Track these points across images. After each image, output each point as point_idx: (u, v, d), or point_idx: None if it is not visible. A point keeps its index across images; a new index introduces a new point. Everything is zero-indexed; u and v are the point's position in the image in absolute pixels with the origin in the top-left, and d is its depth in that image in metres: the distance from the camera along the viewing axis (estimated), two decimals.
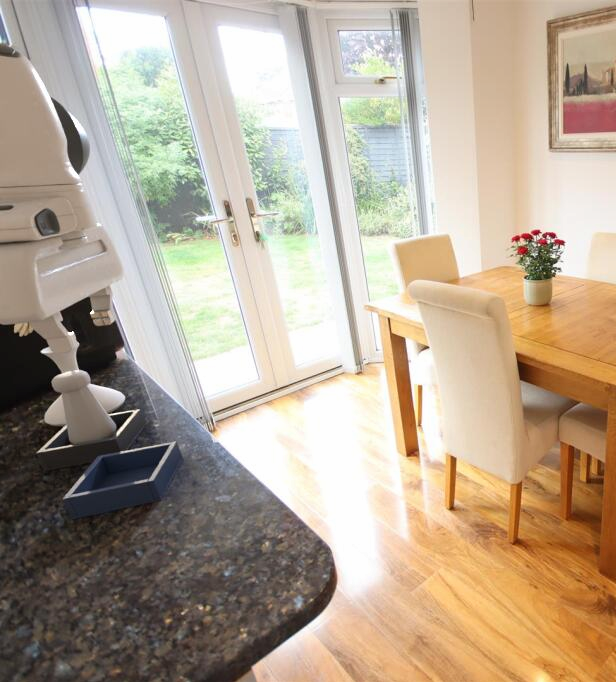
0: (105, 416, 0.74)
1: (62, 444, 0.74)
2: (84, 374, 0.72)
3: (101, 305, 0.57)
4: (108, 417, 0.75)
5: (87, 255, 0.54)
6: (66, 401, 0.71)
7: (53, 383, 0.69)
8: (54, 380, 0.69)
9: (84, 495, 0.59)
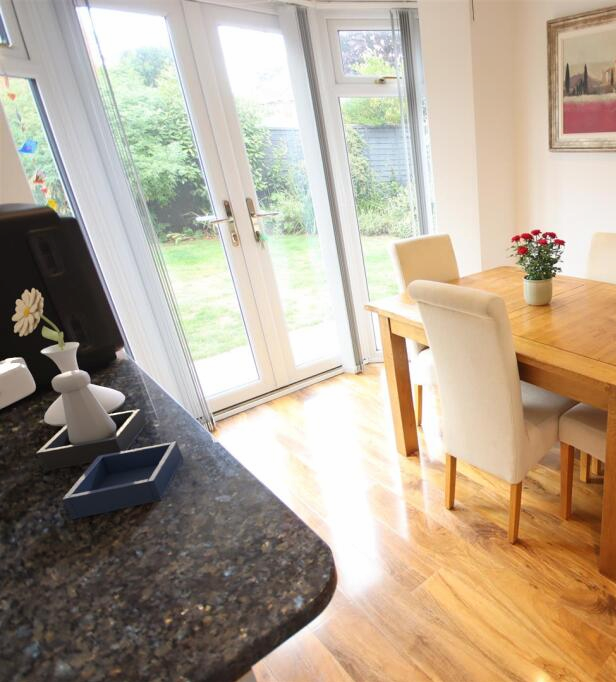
0: (105, 416, 0.74)
1: (62, 444, 0.74)
2: (84, 374, 0.72)
3: None
4: (108, 417, 0.75)
5: None
6: (66, 401, 0.71)
7: (53, 383, 0.69)
8: (54, 380, 0.69)
9: (84, 495, 0.59)
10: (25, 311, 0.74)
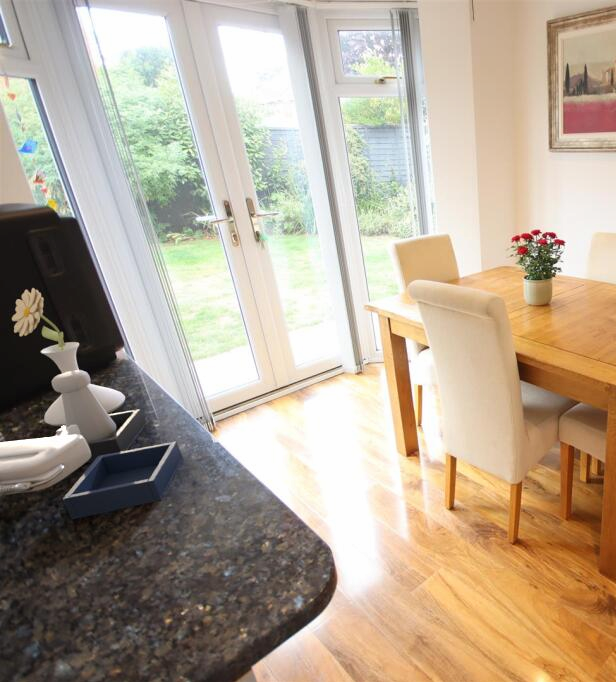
0: (105, 416, 0.74)
1: None
2: (84, 374, 0.72)
3: None
4: (108, 417, 0.75)
5: None
6: (66, 401, 0.71)
7: (53, 383, 0.69)
8: (54, 380, 0.69)
9: (84, 495, 0.59)
10: (25, 311, 0.74)
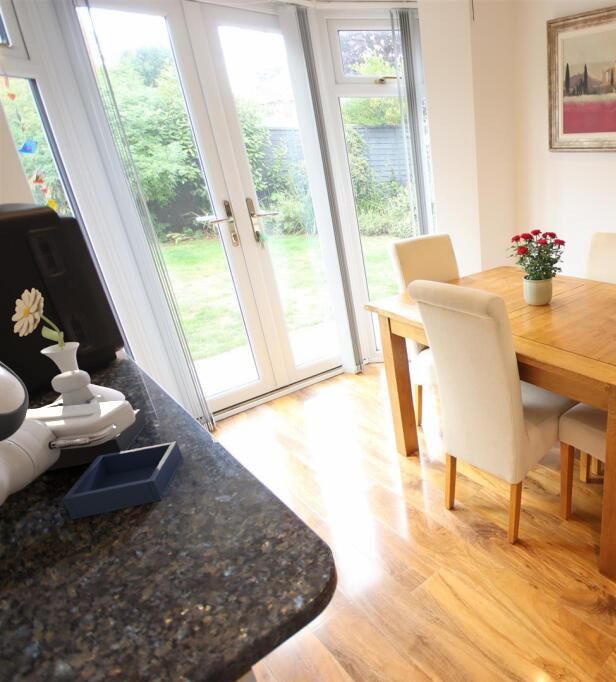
0: None
1: None
2: (84, 374, 0.72)
3: None
4: None
5: None
6: (66, 401, 0.71)
7: (53, 383, 0.69)
8: (54, 380, 0.69)
9: (84, 495, 0.59)
10: (25, 311, 0.74)
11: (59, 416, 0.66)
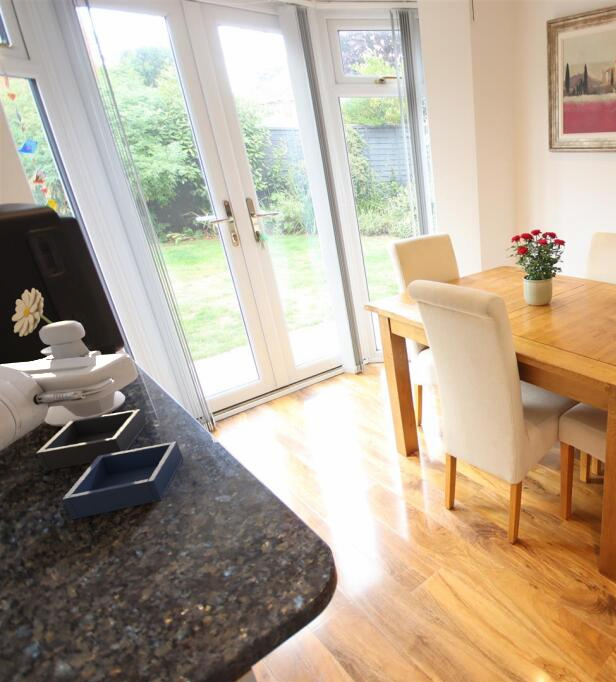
0: None
1: (62, 444, 0.74)
2: (77, 324, 0.61)
3: None
4: None
5: None
6: (56, 356, 0.61)
7: (41, 333, 0.59)
8: (42, 330, 0.59)
9: (84, 495, 0.59)
10: (25, 311, 0.74)
11: (47, 369, 0.55)
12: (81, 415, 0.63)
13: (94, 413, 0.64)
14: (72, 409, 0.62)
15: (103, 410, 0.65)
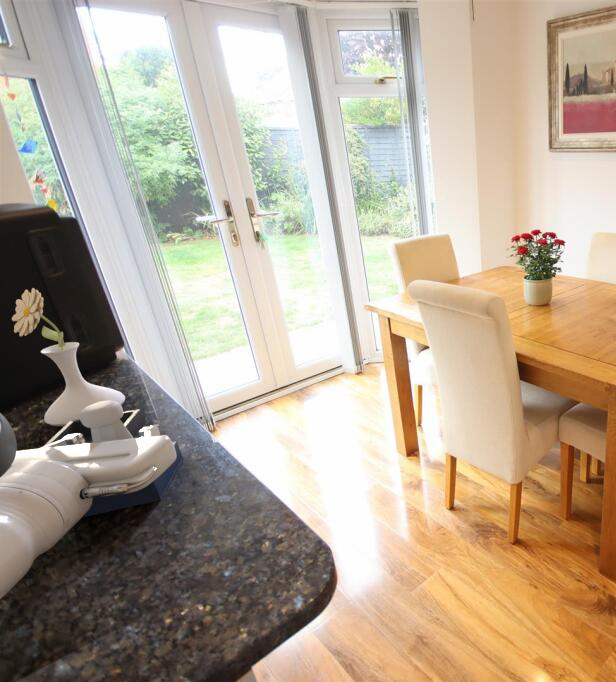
0: None
1: None
2: (117, 405, 0.61)
3: None
4: None
5: None
6: (96, 437, 0.61)
7: (82, 417, 0.59)
8: (83, 414, 0.59)
9: None
10: (25, 311, 0.74)
11: (90, 456, 0.56)
12: None
13: None
14: None
15: None
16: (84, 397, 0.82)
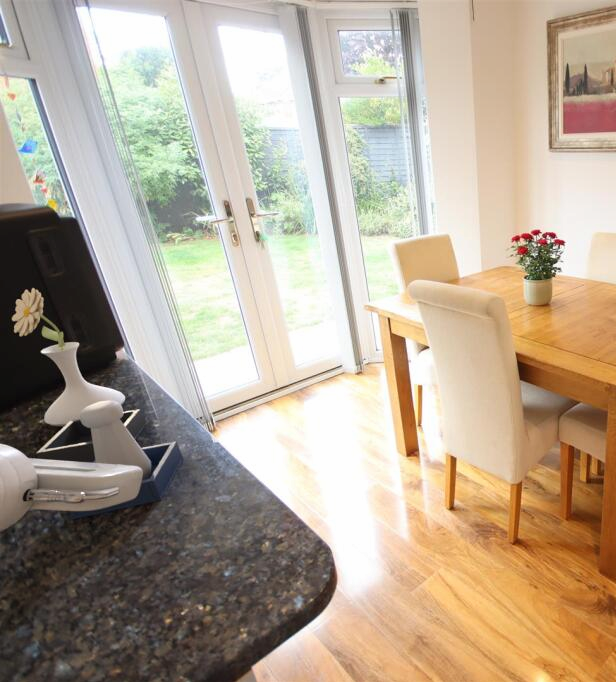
0: (139, 453, 0.64)
1: (62, 444, 0.74)
2: (117, 405, 0.61)
3: None
4: (143, 453, 0.65)
5: None
6: (96, 437, 0.61)
7: (82, 417, 0.59)
8: (83, 414, 0.59)
9: None
10: (25, 311, 0.74)
11: (48, 466, 0.48)
12: None
13: None
14: None
15: None
16: (84, 397, 0.82)
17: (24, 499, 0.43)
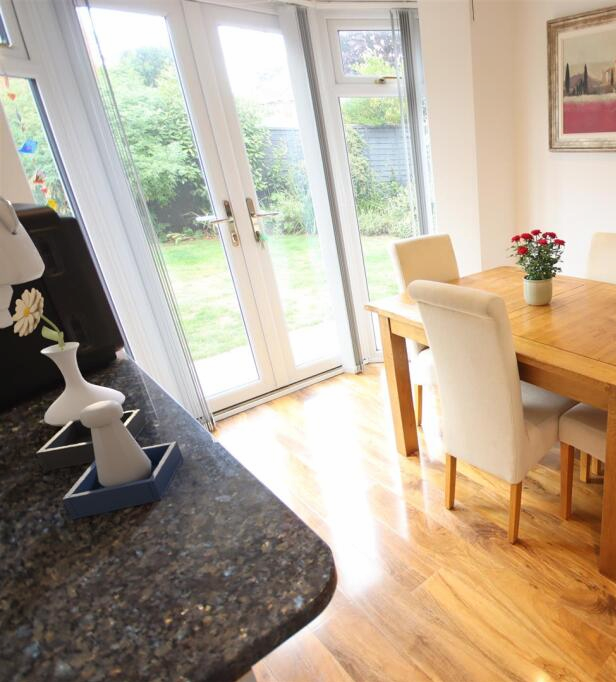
0: (139, 453, 0.64)
1: (62, 444, 0.74)
2: (117, 405, 0.61)
3: None
4: (143, 453, 0.65)
5: None
6: (96, 437, 0.61)
7: (82, 417, 0.59)
8: (83, 414, 0.59)
9: (84, 495, 0.59)
10: (25, 311, 0.74)
11: None
12: None
13: None
14: None
15: None
16: (84, 397, 0.82)
17: None
